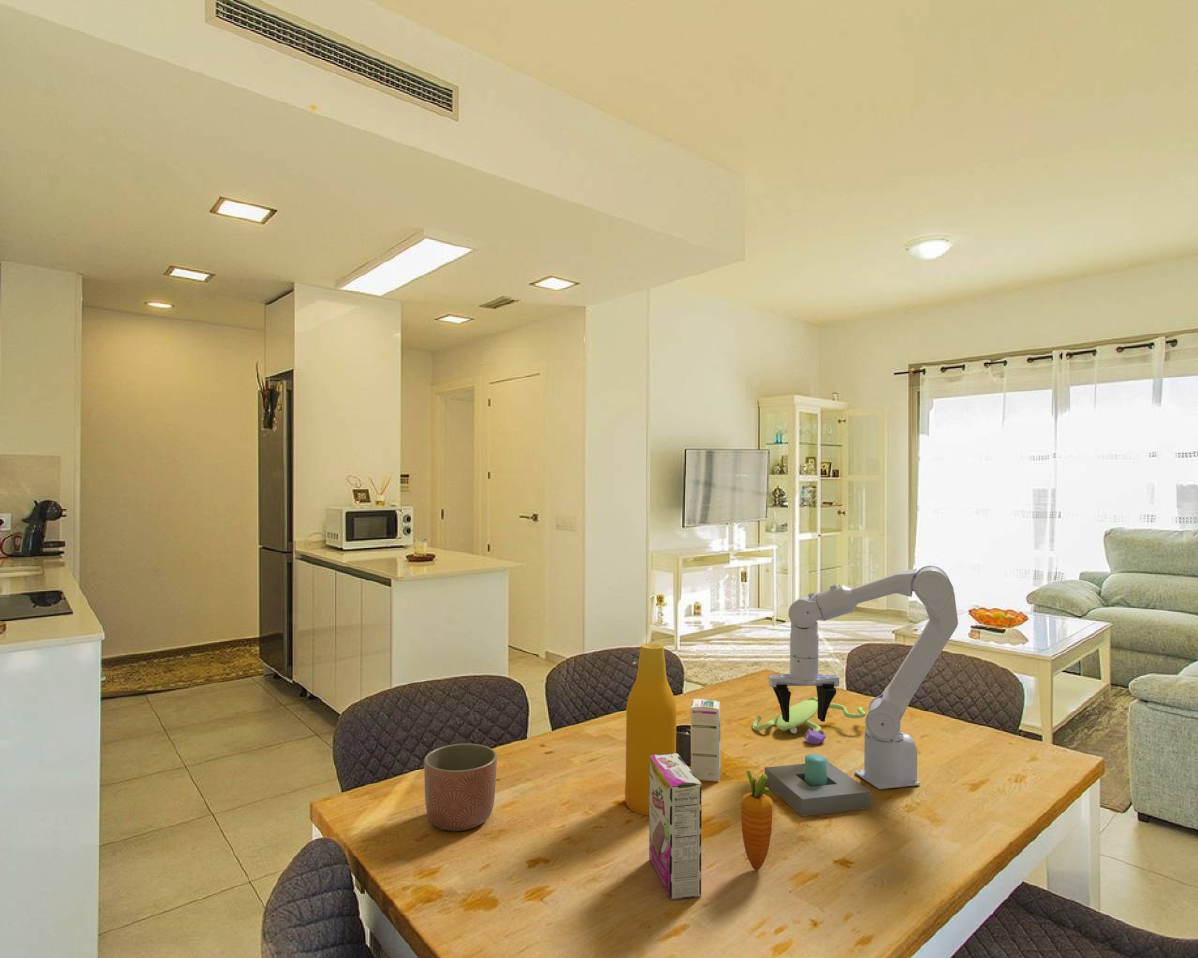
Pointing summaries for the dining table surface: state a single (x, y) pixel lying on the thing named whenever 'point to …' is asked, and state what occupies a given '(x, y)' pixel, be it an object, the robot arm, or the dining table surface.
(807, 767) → the peg
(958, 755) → the dining table surface
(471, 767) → the planter
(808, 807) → the socket
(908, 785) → the robot arm
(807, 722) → the figurine
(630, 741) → the beer bottle
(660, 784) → the candy bar box
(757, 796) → the carrot
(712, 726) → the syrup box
